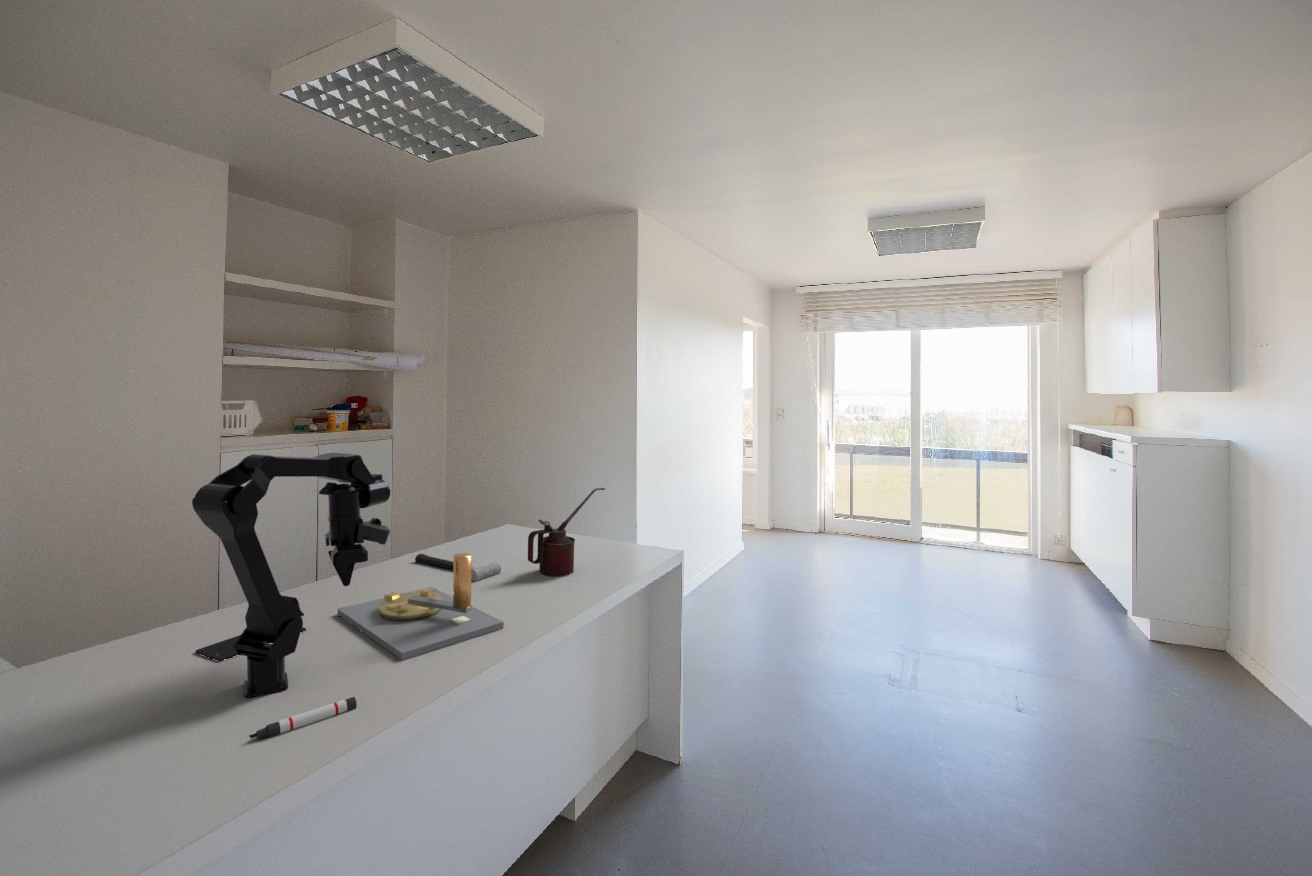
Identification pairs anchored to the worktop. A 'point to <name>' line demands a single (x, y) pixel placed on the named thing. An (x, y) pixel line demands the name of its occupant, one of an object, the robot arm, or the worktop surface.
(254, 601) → the robot arm
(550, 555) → the oil can
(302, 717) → the marker
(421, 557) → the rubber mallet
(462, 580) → the brass wheel crank mechanism
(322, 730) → the worktop surface
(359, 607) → the grey rectangular board
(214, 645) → the cell phone
